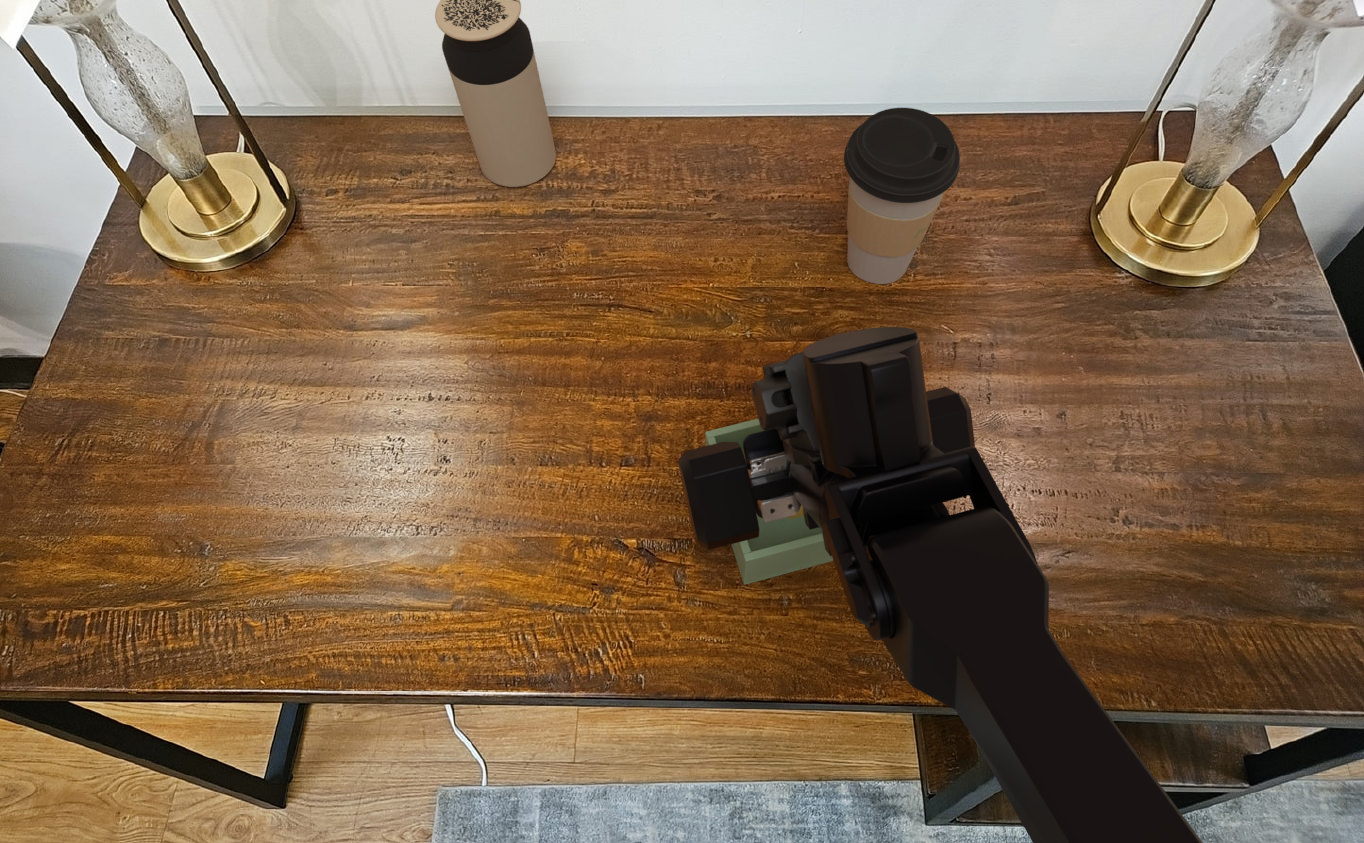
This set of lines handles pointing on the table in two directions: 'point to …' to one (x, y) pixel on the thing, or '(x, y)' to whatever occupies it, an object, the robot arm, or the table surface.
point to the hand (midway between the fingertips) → (793, 432)
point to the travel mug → (498, 88)
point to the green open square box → (772, 529)
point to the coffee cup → (895, 188)
